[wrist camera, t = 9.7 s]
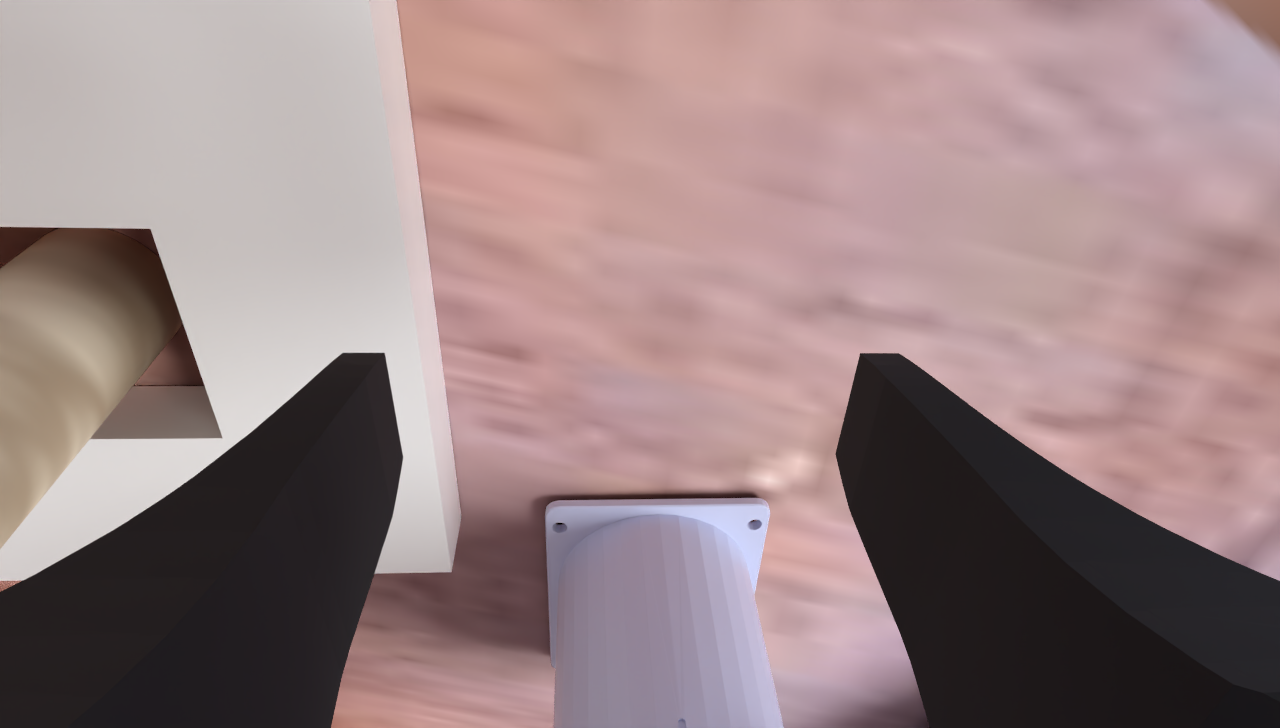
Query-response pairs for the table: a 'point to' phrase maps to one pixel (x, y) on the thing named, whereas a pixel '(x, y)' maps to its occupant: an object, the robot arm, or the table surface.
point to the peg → (71, 351)
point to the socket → (233, 233)
